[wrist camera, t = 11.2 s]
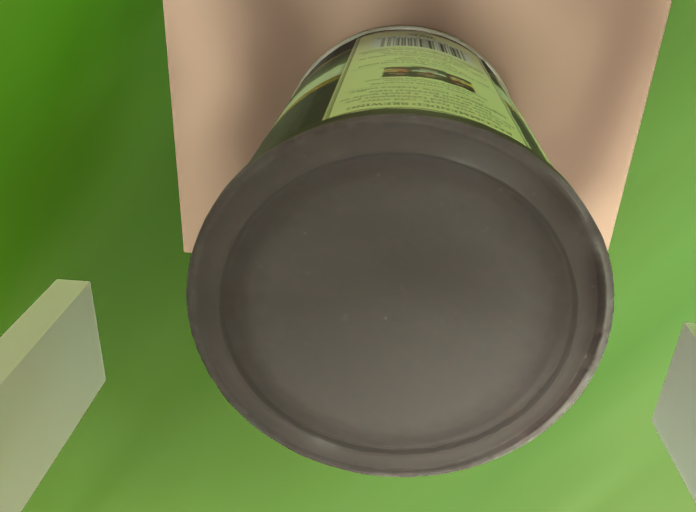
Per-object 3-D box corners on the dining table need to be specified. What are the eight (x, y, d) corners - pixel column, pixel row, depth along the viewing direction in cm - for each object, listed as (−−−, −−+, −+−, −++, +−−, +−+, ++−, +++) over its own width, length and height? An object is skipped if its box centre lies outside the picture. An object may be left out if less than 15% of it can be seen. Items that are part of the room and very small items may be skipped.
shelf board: (195, 234, 33) (163, 282, 28) (172, -78, 26) (125, -79, 22) (588, 263, 32) (618, 317, 27) (665, -54, 25) (721, -51, 21)
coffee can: (325, 274, 31) (270, 506, 19) (249, 66, 27) (111, 185, 14) (539, 224, 29) (639, 447, 16) (494, -11, 25) (582, 51, 12)
